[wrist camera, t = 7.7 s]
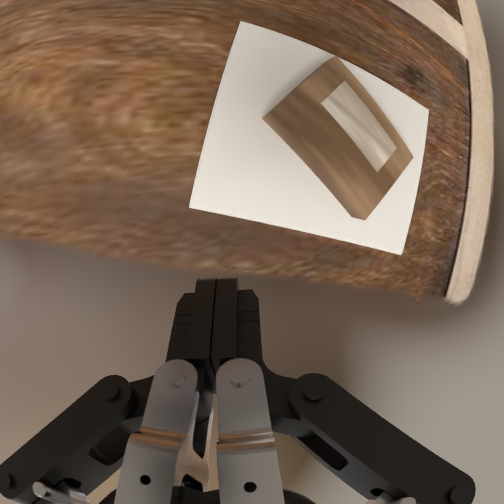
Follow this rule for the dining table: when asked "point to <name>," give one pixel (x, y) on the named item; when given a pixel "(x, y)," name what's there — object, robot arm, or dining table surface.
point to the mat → (284, 158)
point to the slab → (342, 137)
